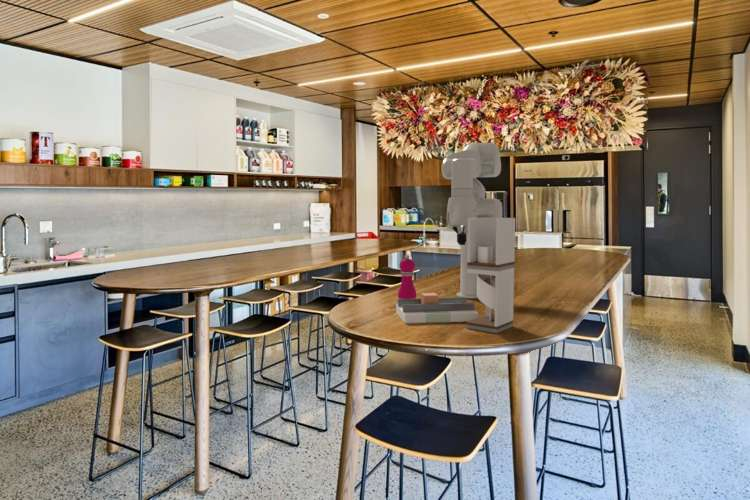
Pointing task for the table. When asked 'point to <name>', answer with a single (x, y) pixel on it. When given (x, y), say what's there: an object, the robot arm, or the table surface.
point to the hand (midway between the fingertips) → (461, 244)
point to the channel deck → (436, 316)
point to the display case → (492, 270)
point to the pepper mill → (407, 279)
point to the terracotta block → (429, 298)
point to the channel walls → (436, 305)
